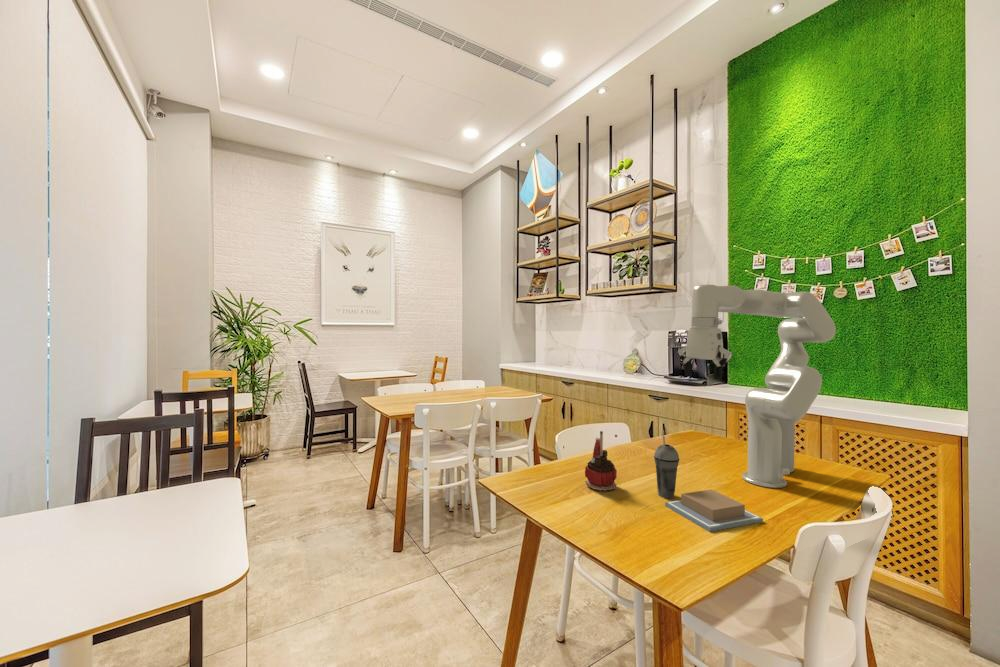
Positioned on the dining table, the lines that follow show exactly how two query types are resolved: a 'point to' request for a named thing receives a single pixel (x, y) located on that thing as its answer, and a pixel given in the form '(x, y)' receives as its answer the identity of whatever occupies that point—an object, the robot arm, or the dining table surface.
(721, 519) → the brown block on tray
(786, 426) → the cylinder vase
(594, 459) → the cake
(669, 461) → the beverage cup
